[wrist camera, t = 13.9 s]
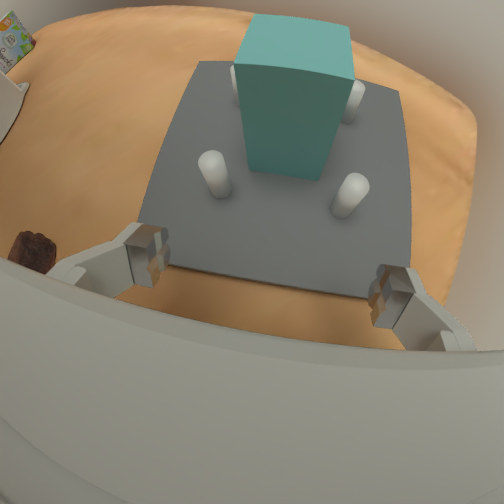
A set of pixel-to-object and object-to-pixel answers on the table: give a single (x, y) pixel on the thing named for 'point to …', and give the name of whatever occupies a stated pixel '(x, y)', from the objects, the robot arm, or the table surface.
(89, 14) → the table surface
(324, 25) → the teal post
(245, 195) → the peg board
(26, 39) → the snack box
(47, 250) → the wooden tablet
